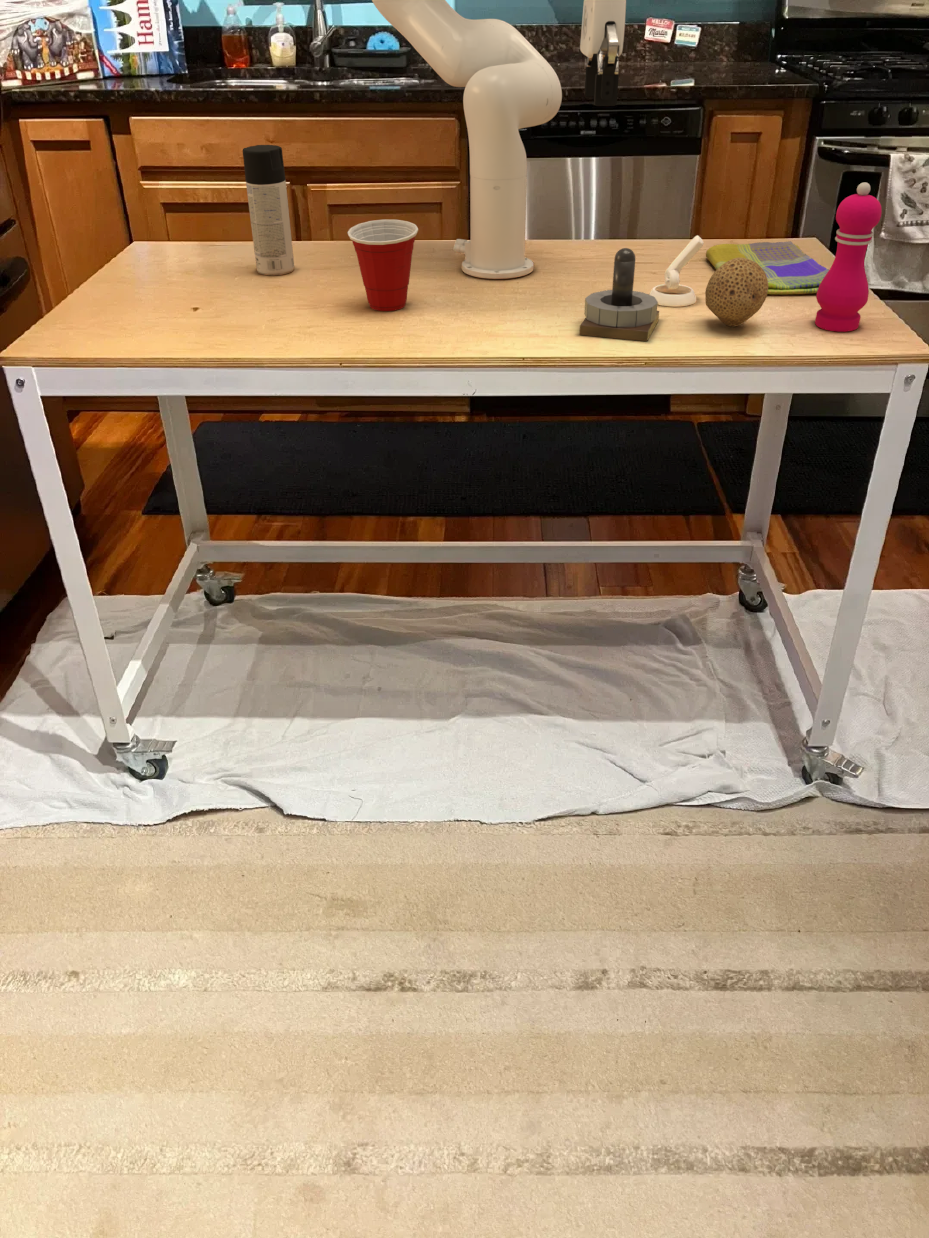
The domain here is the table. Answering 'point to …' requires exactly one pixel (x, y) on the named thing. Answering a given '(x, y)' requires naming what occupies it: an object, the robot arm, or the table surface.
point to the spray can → (268, 209)
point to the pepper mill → (848, 263)
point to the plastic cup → (385, 260)
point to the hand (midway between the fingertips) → (600, 101)
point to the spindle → (621, 302)
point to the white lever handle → (677, 279)
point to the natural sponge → (736, 291)
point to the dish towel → (775, 265)
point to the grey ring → (620, 310)
